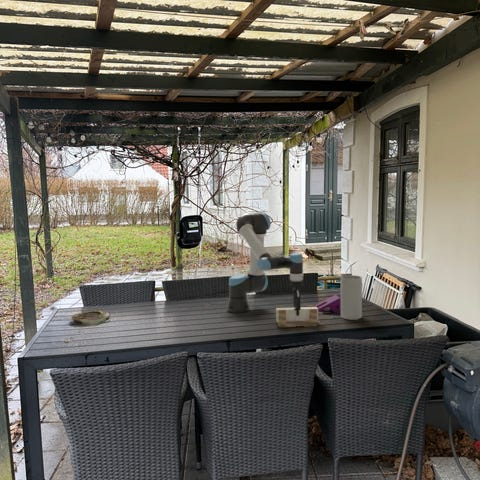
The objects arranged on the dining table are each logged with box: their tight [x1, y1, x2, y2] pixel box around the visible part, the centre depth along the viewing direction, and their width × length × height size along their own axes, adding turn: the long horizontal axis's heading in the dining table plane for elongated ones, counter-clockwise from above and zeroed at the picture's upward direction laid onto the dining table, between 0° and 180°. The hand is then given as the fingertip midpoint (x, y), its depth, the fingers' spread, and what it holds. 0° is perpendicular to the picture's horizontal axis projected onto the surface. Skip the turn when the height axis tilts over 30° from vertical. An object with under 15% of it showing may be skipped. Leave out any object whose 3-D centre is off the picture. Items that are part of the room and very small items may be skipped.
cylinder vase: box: [340, 274, 363, 321], centre depth 260 cm, size 12×12×25 cm
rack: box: [276, 304, 318, 328], centre depth 250 cm, size 10×22×10 cm, turn 91°
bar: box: [275, 306, 324, 322], centre depth 249 cm, size 4×27×7 cm, turn 91°
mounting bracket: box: [314, 294, 341, 314], centre depth 277 cm, size 9×8×18 cm
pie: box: [71, 310, 111, 328], centre depth 269 cm, size 28×27×5 cm
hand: (297, 319), depth 250 cm, fingers closed on bar, 4 cm apart
